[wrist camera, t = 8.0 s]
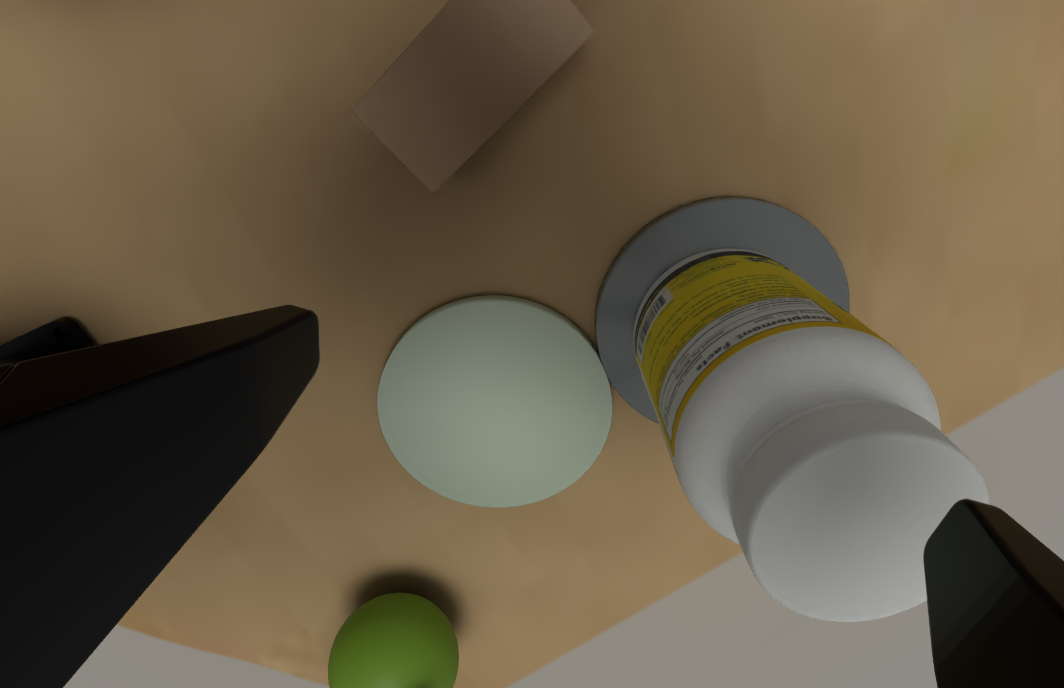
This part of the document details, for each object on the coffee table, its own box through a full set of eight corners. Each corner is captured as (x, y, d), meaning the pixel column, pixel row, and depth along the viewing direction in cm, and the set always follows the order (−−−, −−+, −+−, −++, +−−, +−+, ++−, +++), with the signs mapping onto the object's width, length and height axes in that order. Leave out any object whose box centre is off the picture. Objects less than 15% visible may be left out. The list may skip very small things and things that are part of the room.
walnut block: (450, 172, 21) (432, 194, 17) (384, 103, 20) (350, 110, 16) (583, 39, 19) (595, 31, 16) (517, -43, 18) (514, -72, 15)
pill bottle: (811, 380, 23) (1029, 621, 13) (648, 418, 24) (734, 675, 14) (794, 220, 21) (1046, 362, 10) (613, 268, 21) (685, 445, 11)
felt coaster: (445, 522, 27) (443, 534, 26) (339, 348, 23) (332, 357, 23) (641, 452, 25) (644, 464, 25) (557, 257, 22) (558, 263, 21)
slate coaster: (641, 452, 25) (644, 464, 25) (557, 257, 22) (558, 263, 21) (861, 374, 24) (871, 384, 23) (807, 152, 20) (817, 155, 20)
